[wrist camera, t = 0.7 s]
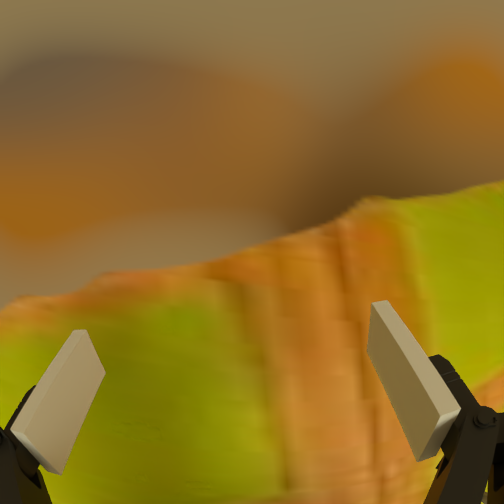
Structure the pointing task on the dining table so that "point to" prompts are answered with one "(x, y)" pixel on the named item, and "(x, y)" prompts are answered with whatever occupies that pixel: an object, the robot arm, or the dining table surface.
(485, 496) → the skyscraper
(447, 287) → the dining table surface
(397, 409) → the robot arm
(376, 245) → the dining table surface
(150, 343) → the dining table surface
